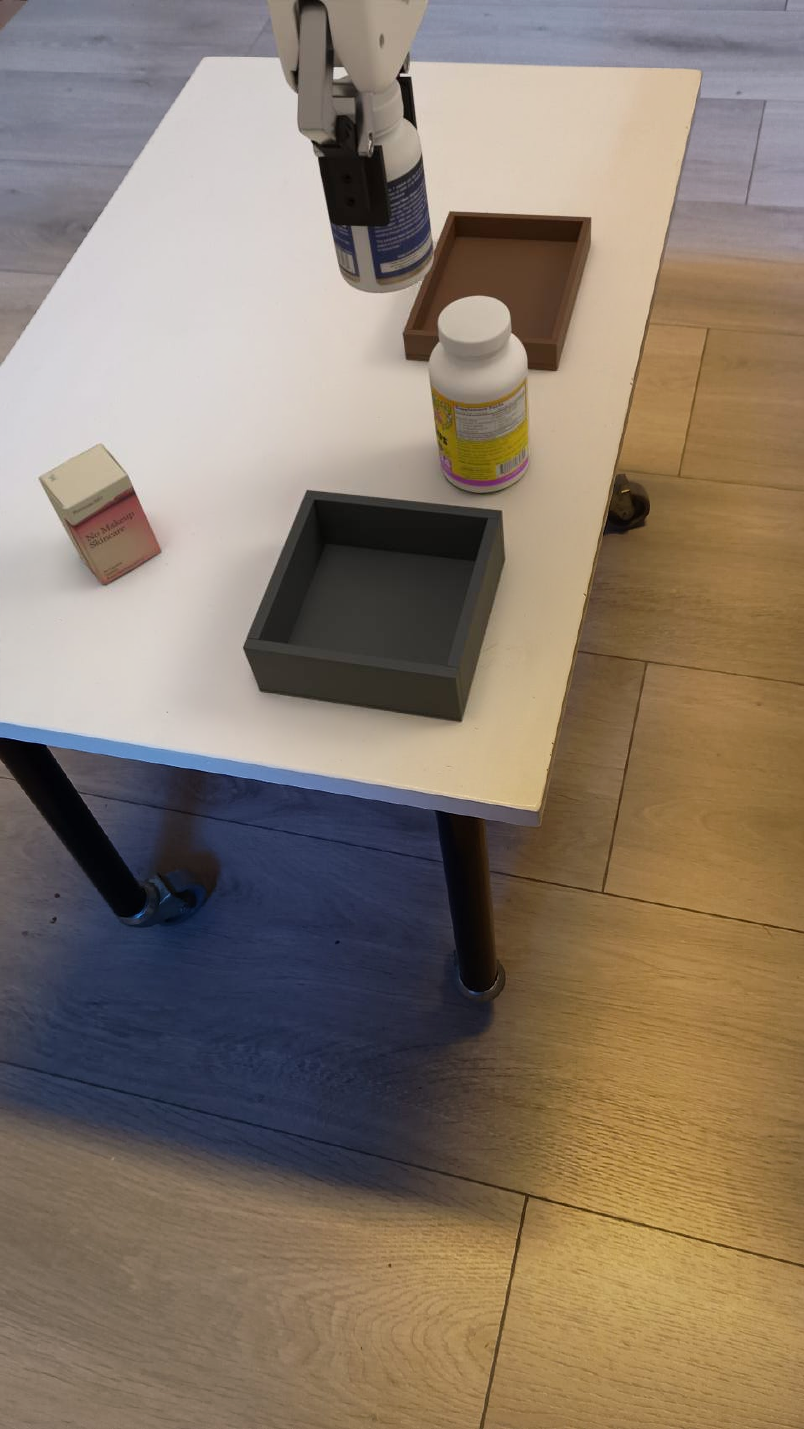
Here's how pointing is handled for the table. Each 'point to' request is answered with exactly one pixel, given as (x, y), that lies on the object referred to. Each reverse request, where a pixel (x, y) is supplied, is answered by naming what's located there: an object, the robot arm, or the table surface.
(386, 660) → the dark grey open box
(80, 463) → the small box
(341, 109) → the pill bottle
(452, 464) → the supplement bottle
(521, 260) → the tray
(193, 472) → the table surface
